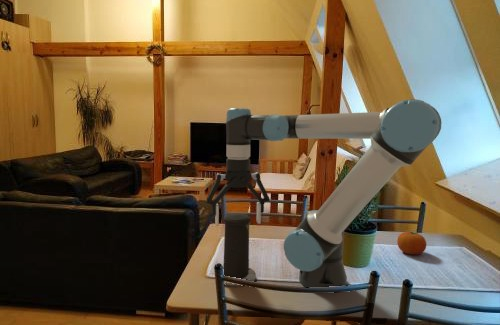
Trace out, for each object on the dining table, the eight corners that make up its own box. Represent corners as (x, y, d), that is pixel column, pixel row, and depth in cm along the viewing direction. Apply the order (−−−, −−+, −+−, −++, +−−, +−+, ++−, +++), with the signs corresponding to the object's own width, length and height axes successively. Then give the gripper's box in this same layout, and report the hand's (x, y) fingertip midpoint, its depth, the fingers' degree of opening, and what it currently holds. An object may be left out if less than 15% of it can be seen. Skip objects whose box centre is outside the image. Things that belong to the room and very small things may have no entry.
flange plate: (263, 278, 114) (263, 275, 114) (233, 291, 105) (233, 287, 105) (238, 265, 124) (238, 262, 123) (208, 276, 115) (208, 272, 115)
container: (254, 273, 115) (256, 214, 112) (236, 283, 108) (237, 220, 105) (235, 265, 120) (236, 209, 118) (216, 274, 114) (217, 214, 111)
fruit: (415, 259, 132) (416, 239, 131) (391, 250, 141) (392, 231, 140) (430, 254, 138) (432, 235, 137) (406, 246, 147) (408, 227, 146)
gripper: (273, 156, 115) (272, 218, 118) (197, 157, 110) (198, 222, 113) (279, 158, 108) (278, 224, 111) (199, 160, 103) (199, 229, 106)
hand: (238, 223), depth 112 cm, fingers open, 13 cm apart
